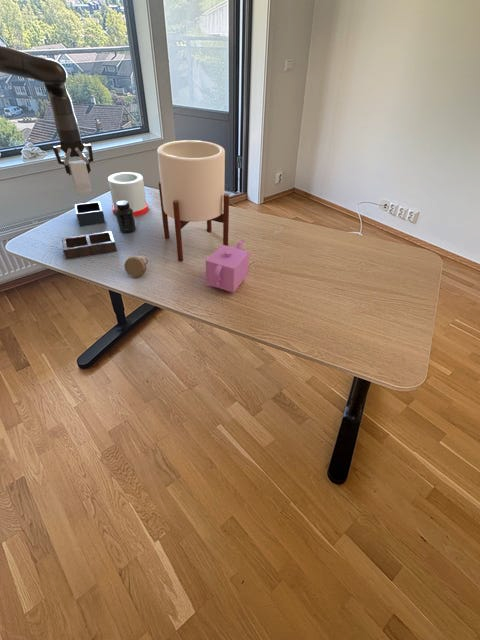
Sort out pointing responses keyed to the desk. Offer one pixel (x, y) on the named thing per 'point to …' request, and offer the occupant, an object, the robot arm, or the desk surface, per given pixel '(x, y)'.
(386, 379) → the desk surface
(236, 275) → the teapot
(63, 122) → the robot arm
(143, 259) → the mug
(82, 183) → the cosmetic box
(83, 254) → the box
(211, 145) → the planter
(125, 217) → the supplement bottle
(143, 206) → the container
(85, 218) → the dark grey open box
